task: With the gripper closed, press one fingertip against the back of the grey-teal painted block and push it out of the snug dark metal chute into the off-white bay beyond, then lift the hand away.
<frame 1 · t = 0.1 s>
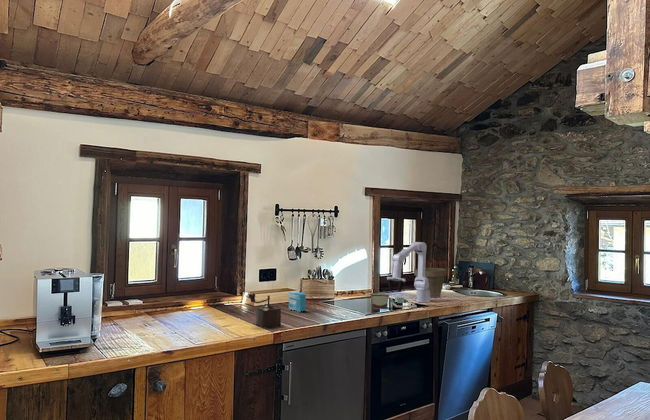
hand: (395, 291, 326), 11 cm above the worktop, tool pointing down, fingers open, 7 cm apart
light blue box: (297, 311, 305), on the worktop
food container: (379, 308, 319), on the worktop
painted block: (399, 302, 344), on the worktop
chute: (399, 302, 344), on the worktop
manual coffee grinder: (264, 326, 261), on the worktop
plant pot: (430, 296, 373), on the worktop
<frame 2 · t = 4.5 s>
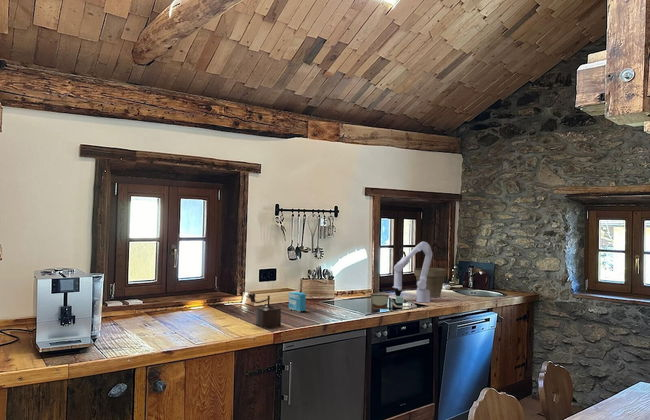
hand: (397, 298, 349), 2 cm above the worktop, tool pointing down, fingers closed
painted block: (399, 302, 344), on the worktop, touching gripper
everything else where it was.
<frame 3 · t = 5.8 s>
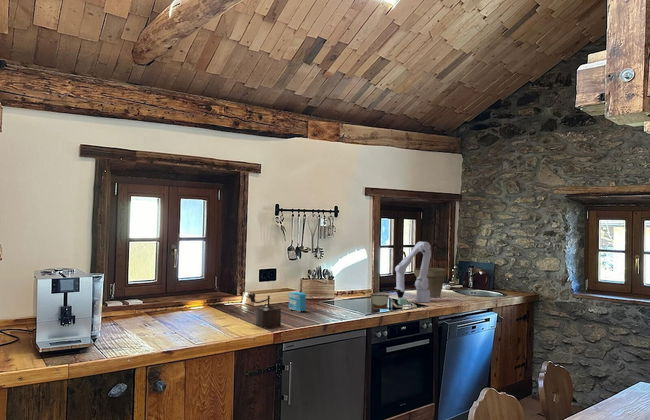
hand: (400, 300, 341), 2 cm above the worktop, tool pointing down, fingers closed
painted block: (402, 303, 336), on the worktop, touching gripper
everything else where it was.
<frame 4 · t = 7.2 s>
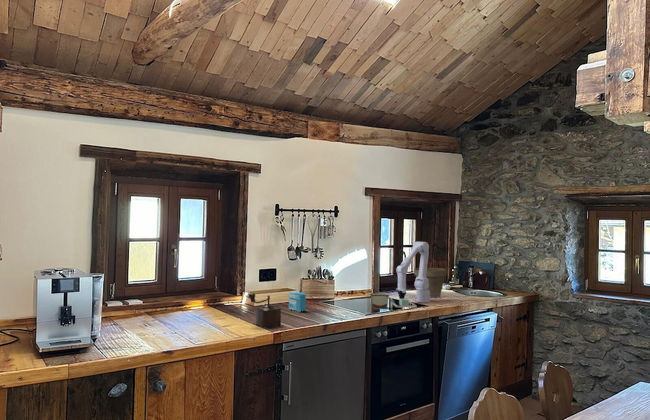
hand: (401, 301, 337), 2 cm above the worktop, tool pointing down, fingers closed
painted block: (404, 305, 332), on the worktop, touching gripper
everything else where it was.
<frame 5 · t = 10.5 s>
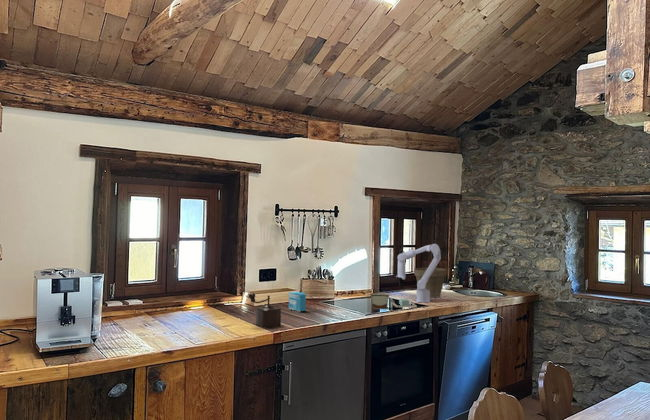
hand: (401, 288, 350), 9 cm above the worktop, tool pointing down, fingers closed
painted block: (404, 305, 332), on the worktop
everything else where it was.
at the end: painted block inside the target area (1.4 cm from its centre), on the worktop; painted block tilted 0°; painted block moved 12.4 cm from its start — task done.
